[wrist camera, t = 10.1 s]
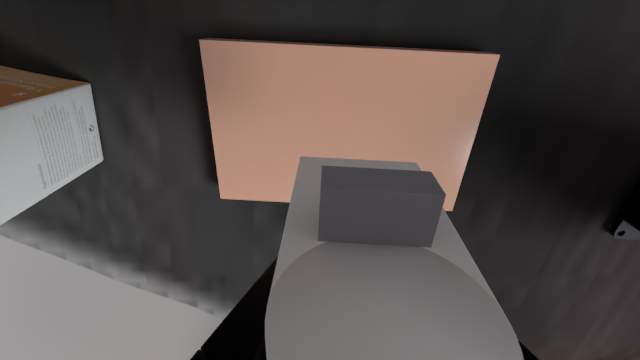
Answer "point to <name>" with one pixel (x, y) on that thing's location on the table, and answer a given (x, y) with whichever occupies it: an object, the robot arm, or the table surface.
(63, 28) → the table surface
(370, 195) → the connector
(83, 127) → the small box
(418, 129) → the terracotta tile
